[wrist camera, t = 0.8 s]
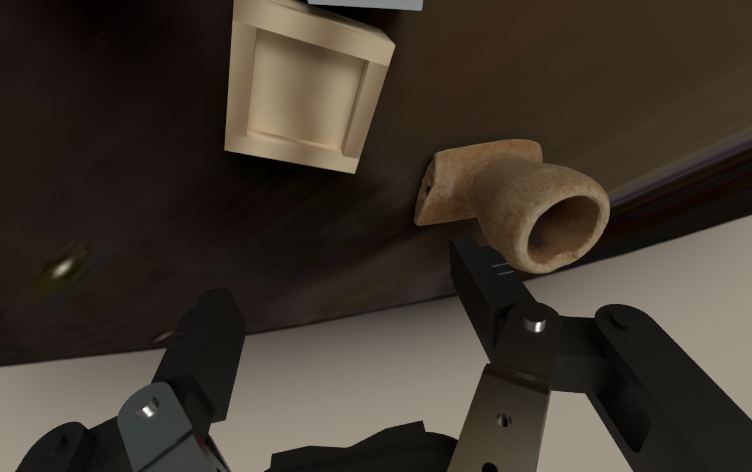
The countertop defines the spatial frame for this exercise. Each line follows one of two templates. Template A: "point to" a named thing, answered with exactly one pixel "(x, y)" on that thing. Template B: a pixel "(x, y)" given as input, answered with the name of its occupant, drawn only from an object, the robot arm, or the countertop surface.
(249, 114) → the wooden crate
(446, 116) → the countertop surface
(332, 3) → the slate block
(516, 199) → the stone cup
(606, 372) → the robot arm
